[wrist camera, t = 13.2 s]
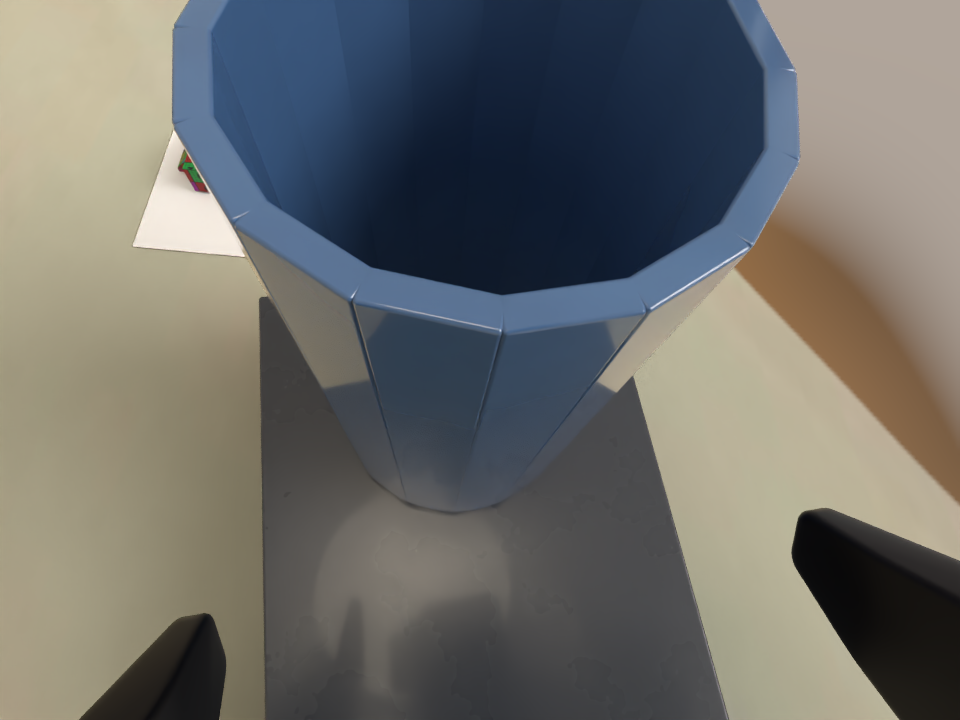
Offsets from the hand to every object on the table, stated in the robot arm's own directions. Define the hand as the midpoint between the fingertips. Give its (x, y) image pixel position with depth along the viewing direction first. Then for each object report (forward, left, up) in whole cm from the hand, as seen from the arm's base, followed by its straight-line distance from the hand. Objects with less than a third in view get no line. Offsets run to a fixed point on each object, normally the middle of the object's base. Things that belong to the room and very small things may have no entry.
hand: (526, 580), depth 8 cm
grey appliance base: (+2, -2, -12) cm, 13 cm away
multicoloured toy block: (+19, -9, -13) cm, 24 cm away
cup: (+4, -4, -8) cm, 10 cm away
